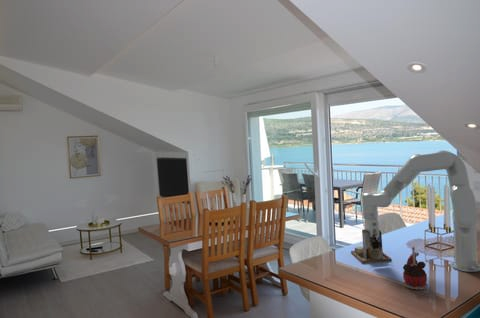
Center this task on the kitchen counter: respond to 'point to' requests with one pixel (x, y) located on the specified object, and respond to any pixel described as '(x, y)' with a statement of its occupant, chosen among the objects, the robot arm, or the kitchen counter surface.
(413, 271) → the cake
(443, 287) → the kitchen counter surface
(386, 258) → the tray
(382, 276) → the kitchen counter surface
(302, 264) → the kitchen counter surface
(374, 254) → the coffee box
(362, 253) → the beech block
